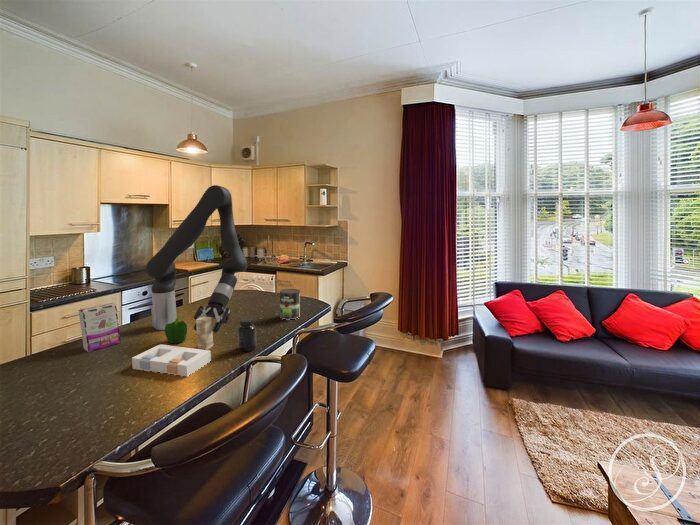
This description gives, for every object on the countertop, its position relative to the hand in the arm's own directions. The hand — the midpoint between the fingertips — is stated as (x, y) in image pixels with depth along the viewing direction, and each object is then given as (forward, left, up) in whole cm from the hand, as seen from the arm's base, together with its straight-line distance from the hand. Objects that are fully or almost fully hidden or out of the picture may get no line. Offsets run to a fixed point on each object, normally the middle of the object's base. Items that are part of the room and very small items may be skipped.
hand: (205, 331), depth 128 cm
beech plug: (0, 0, -7) cm, 7 cm away
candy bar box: (-40, -10, -7) cm, 42 cm away
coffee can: (+17, +44, -7) cm, 48 cm away
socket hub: (-1, -16, -7) cm, 17 cm away
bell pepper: (-15, +2, -7) cm, 17 cm away
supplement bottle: (+17, +3, -7) cm, 18 cm away
